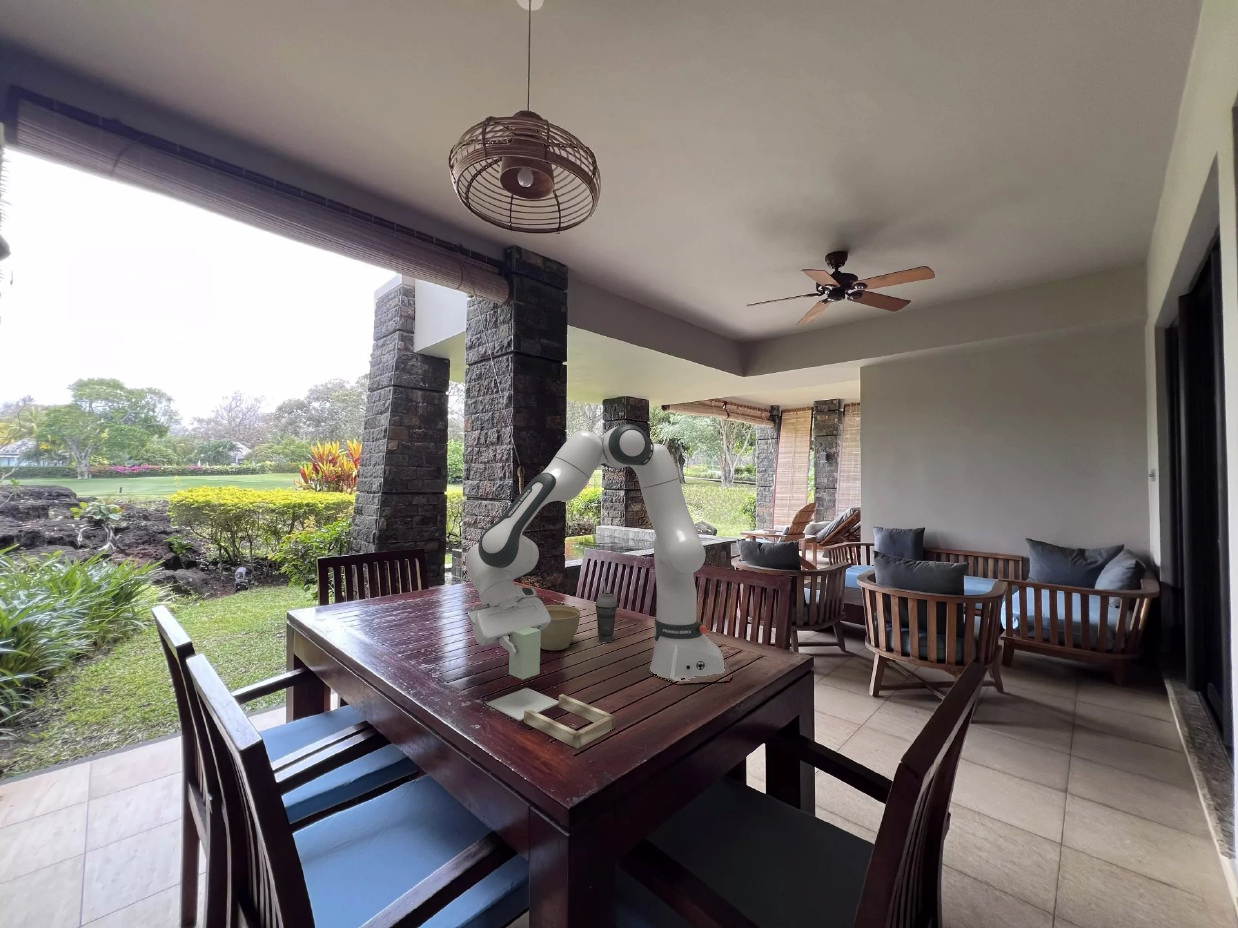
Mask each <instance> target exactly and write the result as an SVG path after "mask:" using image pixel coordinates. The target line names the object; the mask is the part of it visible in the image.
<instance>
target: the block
mask: <svg viewBox="0 0 1238 928" xmlns="http://www.w3.org/2000/svg"><path fill="white" fill-rule="evenodd" d="M540 638H541V630H538V629H534V628H531V627H527V628H523V629H519V630H516V631H513V632H512V633H511V634H510V639H509V641H510V642H511V643H512V644H513V645H517V647H518V649H519V653H518V654H517V655H515V656H510V654H509V653H508V654H509V655H508V658H509V659H508V675H511V676H513V677H515V678H518V679H520V680H526V679H529V678H531V677H535V676H537V675H539V674H540V673H541V672H540V663H541V648H540Z"/></svg>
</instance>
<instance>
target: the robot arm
mask: <svg viewBox="0 0 1238 928" xmlns="http://www.w3.org/2000/svg"><path fill="white" fill-rule="evenodd" d="M600 466H603V467H605V468H609V469H622V468H627V467H630V468H631V469H633V471H634V472H635V474H636V476H637V478H638V483H639V487H640V491H641V495H642V498H643V502H644V505H645V510H646V513H647V517H648V518H649V521H650V523H651V526H652V529H653V532H654V534H655V538H654V540H653V545H652V546H653V560H654V575H655V583H656V617H655V618H654V626H653V630H654V631H653V637H654V646H653V653H652V658H651V662H650V665H649V668H650V670H651V672H653V673H654V674H657V675H658V676H662V677H665V678H670V679H672V680H674V681H690V680H688V679H691V678H696V677H694V676H707V675H712V674H722V673H724V671H725V669H724V663H725V662H724V655H723V653H722V651H721V649H720V648H719V647H718V646H717V644H715V643H714V642H713V641H712V640H710V639H709V637H707V636H706V635H705V634H707V633H708V628H707V626H706V625H704V623H703V622H701V620H699V619H697V607H698V606H697V601H698V599H697V598H698V596H697V594H698V593H697V587H696V584H695V577H694V573H696V572H697V571H699V570H700V569H701V568H702V566H703V565H704V564H705V561H706V550H705V547H704V544H703V542H702V541H701V538H700V536H699V535H700V534H699V533H698V530H697V528H696V525H695V523H694V521H693V518H692V516H691V514H690V511H689V508H688V506H687V503H686V499H685V496H684V492H683V488H682V485H681V482H680V480H681V479H680V478H679V474H678V470H677V468H676V467H677V466H676V464H675V462H674V459H673V457H672V456H671V453H670V451H669V449H668V448H667V447H666V446H665V445H664V444H661V443H656V442H655V443H654V442H653V441H652V440H651V439H650V438H649V437H648V436H647V433H645V431H644V430H643V429H641V428H640V427H639V426H637V425H635V424H628V423H625V424H624V423H623V424H621V425H619V426H615V427H612V428H611V429H609V430H608V431H606V432H605V433H603V434H601V435H596V434H595V433H594V432H591V431H590V430H589V431H588V430H582V429H580V430H577V431H575V432H573V434H571V436H569V438H568V439H567V440H566V441H565V442H564V443H563V445H562V446H561V447H560V449H559V450H558V451H557V452H556V454H555V455H554V457H553V458H552V460H551V461H550V463H549V464H548V466H546V468H545V469H544V470H543V471H542V472H541V473H539V474H538V475H535V477H534V478H532V479H531V480H530V482H529V483H528V484H527V485H526V486H525V487H524V489H523V490H522V491H521V492H520V493H519V495H518V496H517V497H516V498H515V499H514V501H512V503H511V504H510V505H509V506H508V508H507V509H506V511H505V512H504V513H503V514H502V515H501V516H500V517H499V518H498V519H497V520H496V521H495V522H493V523H492V524H490V526H488V527H487V528H486V529H485V530H484V531H483V532H482V534H481V536H480V538H479V540H478V543H475V544H474V545H473V546H472V547H470V548H469V550H468V551H467V553H466V555H465V558H464V559H465V568H466V570H467V574H468V575H469V578H470V581H471V583H472V586H473V587H474V588H475V589H476V590H477V592H478V598H479V600H480V603H481V605H478V606H473V607H471V608H470V609H469V610H468V611H467V618H468V620H469V622H470V624H471V628H472V632H473V635H474V638H475V641H476V643H477V644H478V645H479V646H482V647H484V646H488V645H490V644H491V645H492V644H495V643H498V642H499V645H500V646H501V647H502V648H504V649H505V650H506V651H508V654H510V656H515V655H517V654H518V653H519V649H518V647H517V645H513V644H512V643H511V642H510V634H511V633H512V632H513V631H516V630H519V629H523V628H527V627H531V628H534V629H538V630H543V629H545V628H546V627H547V626H548V625H549V623H550V621H551V617H550V615H549V613H548V611H547V609H546V607H545V606H546V605H545V604H544V602H543V601H542V599H540V597H537V595H538V593H537V591H536V589H535V588H534V587H527V586H521V585H518V584H515V583H514V581H515V580H517V579H519V578H521V577H523V576H524V575H527V574H528V573H530V572H532V571H533V570H534V569H535V567H536V566H537V564H538V562H539V559H540V550H539V547H538V545H537V543H535V542H534V541H533V540H531V539H530V538H528V537H527V536H525V535H524V534H523V533H524V531H525V530H526V528H527V527H528V526H529V525H530V523H531V521H533V519H534V518H535V516H536V515H537V514H538V513H539V511H540V510H541V509H542V508H543V507H544V506H546V505H547V504H550V503H551V502H558V501H559V502H567V501H572V500H573V499H575V498H577V497H578V496H579V495H580V493H582V492H583V490H584V489H585V487H586V486H587V485H588V483H589V481H590V480H591V478H592V476H593V474H594V472H595V471H596V470H597V469H598V467H600ZM540 646H541V643H540ZM650 670H649V671H650ZM651 672H650V673H651ZM681 678H685V679H686V680H681Z"/></svg>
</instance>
